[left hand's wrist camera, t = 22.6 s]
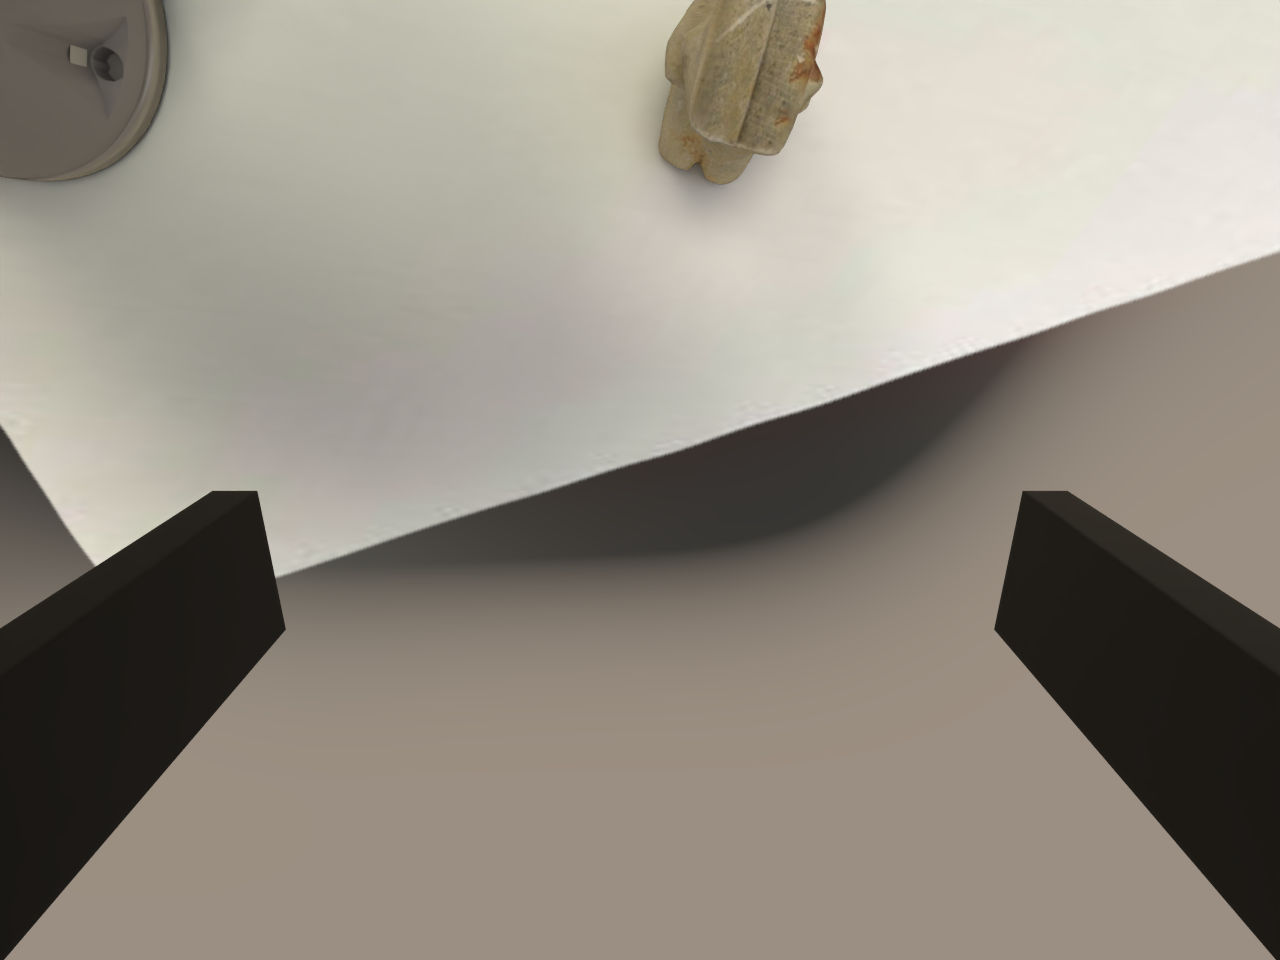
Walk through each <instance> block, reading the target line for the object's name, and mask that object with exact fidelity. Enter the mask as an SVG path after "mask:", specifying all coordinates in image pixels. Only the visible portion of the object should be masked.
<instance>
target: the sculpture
mask: <svg viewBox="0 0 1280 960" xmlns="http://www.w3.org/2000/svg"><path fill="white" fill-rule="evenodd" d="M825 11H826V1H825V0H695V1H693V3H692V4H691V5H690V7H689V8H688V10H687V11H686V13H685V15H684V16H683V18H682V19H681V21H680V22H679V24H678V25H677V27H676V28H675V30H674V32H673V34H672V35H671V37H670V39H669V41H668V44H667V48H666V58H665V75H666V78H667V79H668V80H669V81H670V82H671V83H672V85H671V89H670V92H669V96H668V100H667V104H666V108H665V112H664V117H663V122H662V128H661V134H660V140H659V151H660V154H661V156H662V157H663V158H664V159H665V160H666V161H667V162H669V163H670V164H672V165H674V166H675V167H677V168H679V169H685V170H688V169H690V168H691V167H692V166H693V165H694V164H695V163H698V164H699V165H701V167H702V170H703V173H704V176H705V178H706V179H707V180H709V181H711V182H714V183H717V184H727V183H730V182H732V181H734V180H735V179H737V178H738V177H739V176H740V174H741V173H742V172H743V171H744V169H745V168H746V166H747V164H748V163H749V161H750V159H751V157H752V155H753V154H760V155H766V156H769V155H775V154H778V153H779V152H780V151H781V149H782V148H783V147H784V145H785V143H786V141H787V139H788V137H789V135H790V132H791V130H792V128H793V126H794V123H795V120H796V117H797V115H798V114H799V113H801V112H802V111H804V110H805V109H806V108H807V107H808V105H809V102H810V99H811V97H812V96H813V95H814V94H815V93H816V92H817V91H818V90H819V89H820V88H821V86H822V83H823V77H822V75H821V72H820V70H819V67H818V65H817V63H816V61H815V58H816V55H817V52H818V47H819V43H820V39H821V35H822V30H823V24H824V18H825Z"/></svg>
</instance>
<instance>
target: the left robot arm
mask: <svg viewBox="0 0 1280 960" xmlns="http://www.w3.org/2000/svg"><path fill="white" fill-rule="evenodd" d="M166 66H167V34H166V26H165V18H164V13H163V8H162V3H161V0H0V176H1V177H6V178H14V179H25V180H43V181H58V180H68V179H74V178H79V177H83V176H87V175H90V174H92V173H95V172H98V171H100V170H102V169H104V168H106V167H108V166H110V165H111V164H113V163H114V162H116V161H117V160H119V159H120V158H122V157H123V156H124V155H125V154H126V153H127V152H128V151H129V150H130V149H132V147H133V146H134V145H135V144H136V143H137V142H138V141H139V139H140V138H141V137H142V135H143V134H144V132H145V131H146V129H147V128H148V126H149V124H150V122H151V120H152V118H153V116H154V114H155V112H156V109H157V107H158V104H159V101H160V98H161V94H162V90H163V86H164V81H165V74H166ZM285 630H286V628H285V623H284V619H283V614H282V609H281V604H280V599H279V594H278V590H277V585H276V580H275V575H274V570H273V565H272V560H271V555H270V551H269V546H268V541H267V536H266V531H265V526H264V521H263V517H262V512H261V507H260V502H259V497H258V492H257V491H212V492H210V493H209V494H207V495H206V496H204V497H203V498H201V499H199V500H198V501H196V502H195V503H193V504H192V505H190V506H189V507H187V508H186V509H184V510H182V511H181V512H179V513H178V514H176V515H175V516H173V517H172V518H170V519H169V520H167V521H165V522H164V523H162V524H161V525H159V526H158V527H156V528H155V529H153V530H152V531H150V532H148V533H147V534H145V535H144V536H142V537H141V538H139V539H138V540H136V541H135V542H133V543H131V544H130V545H128V546H127V547H125V548H124V549H122V550H121V551H119V552H118V553H116V554H115V555H113V556H111V557H110V558H108V559H107V560H105V561H104V562H102V563H101V564H99V565H98V566H96V567H95V568H93V569H91V570H90V571H88V572H87V573H85V574H84V575H82V576H81V577H79V578H77V579H76V580H74V581H73V582H71V583H70V584H68V585H67V586H65V587H64V588H62V589H60V590H59V591H57V592H56V593H54V594H53V595H51V596H50V597H48V598H47V599H45V600H44V601H42V602H40V603H39V604H37V605H36V606H34V607H33V608H31V609H30V610H28V611H27V612H25V613H23V614H22V615H20V616H19V617H17V618H16V619H14V620H13V621H11V622H10V623H8V624H7V625H5V626H3V627H2V628H0V960H4V959H5V958H6V957H7V956H8V954H9V953H10V952H11V951H12V950H13V949H14V947H15V946H16V945H17V944H18V943H19V941H20V940H21V939H22V938H23V937H24V936H25V934H26V933H27V932H28V931H29V930H30V929H31V927H32V926H33V925H34V924H35V923H36V922H37V920H38V919H39V918H40V917H41V916H42V915H43V913H44V912H45V911H46V910H47V909H48V908H49V906H50V905H51V904H52V903H53V902H54V901H55V899H56V898H57V897H58V896H59V895H60V893H61V892H62V891H63V890H64V889H65V888H66V886H67V885H68V884H69V883H70V882H71V881H72V879H73V878H74V877H75V876H76V875H77V873H78V872H79V871H80V870H81V869H82V868H83V867H84V865H85V864H86V863H87V862H88V861H89V859H90V858H91V857H92V856H93V855H94V854H95V852H96V851H97V850H98V849H99V848H100V847H101V845H102V844H103V843H104V842H105V841H106V840H107V838H108V837H109V836H110V835H111V834H112V832H113V831H114V830H115V829H116V828H117V827H118V825H119V824H120V823H121V822H122V821H123V820H124V818H125V817H126V816H127V815H128V814H129V813H130V811H131V810H132V809H133V808H134V807H135V805H136V804H137V803H138V802H139V801H140V800H141V799H142V797H143V796H144V795H145V794H146V793H147V791H148V790H149V789H150V788H151V787H152V786H153V784H154V783H155V782H156V781H157V780H158V779H159V777H160V776H161V775H162V774H163V773H164V771H165V770H166V769H167V768H168V767H169V766H170V765H171V763H172V762H173V761H174V760H175V759H176V757H177V756H178V755H179V754H180V753H181V752H182V750H183V749H184V748H185V747H186V746H187V745H188V743H189V742H190V741H191V740H192V739H193V738H194V736H195V735H196V734H197V733H198V732H199V731H200V729H201V728H202V727H203V726H204V725H205V723H206V722H207V721H208V720H209V719H210V718H211V716H212V715H213V714H214V713H215V712H216V711H217V709H218V708H219V707H220V706H221V705H222V703H223V702H224V701H225V700H226V699H227V698H228V697H229V695H230V694H231V693H232V692H233V691H234V689H235V688H236V687H237V686H238V685H239V684H240V682H241V681H242V680H243V679H244V678H245V677H246V675H247V674H248V673H249V672H250V671H251V670H252V668H253V667H254V666H255V665H256V664H257V663H258V661H259V660H260V659H261V658H262V657H263V655H264V654H265V653H266V652H267V651H268V650H269V648H270V647H271V646H272V645H273V644H274V643H275V641H276V640H277V639H278V638H279V637H280V636H281V634H282V633H283V632H284V631H285ZM994 630H995V631H996V632H997V633H998V634H999V636H1000V637H1001V638H1002V639H1003V640H1004V641H1005V643H1006V644H1007V645H1008V646H1009V647H1010V648H1011V650H1012V651H1013V652H1014V653H1015V654H1016V655H1017V657H1018V658H1019V659H1020V660H1021V661H1022V662H1023V664H1024V665H1025V666H1026V667H1027V668H1028V670H1029V671H1030V672H1031V673H1032V674H1033V675H1034V677H1035V678H1036V679H1037V680H1038V681H1039V682H1040V684H1041V685H1042V686H1043V687H1044V688H1045V689H1046V691H1047V692H1048V693H1049V694H1050V695H1051V696H1052V698H1053V699H1054V700H1055V701H1056V702H1057V704H1058V705H1059V706H1060V707H1061V708H1062V709H1063V711H1064V712H1065V713H1066V714H1067V715H1068V716H1069V718H1070V719H1071V720H1072V721H1073V722H1074V723H1075V725H1076V726H1077V727H1078V728H1079V729H1080V731H1081V732H1082V733H1083V734H1084V735H1085V736H1086V738H1087V739H1088V740H1089V741H1090V742H1091V743H1092V745H1093V746H1094V747H1095V748H1096V749H1097V750H1098V752H1099V753H1100V754H1101V755H1102V756H1103V757H1104V759H1105V760H1106V761H1107V762H1108V763H1109V765H1110V766H1111V767H1112V768H1113V769H1114V770H1115V772H1116V773H1117V774H1118V775H1119V776H1120V777H1121V779H1122V780H1123V781H1124V782H1125V783H1126V784H1127V786H1128V787H1129V788H1130V789H1131V790H1132V791H1133V793H1134V794H1135V795H1136V796H1137V797H1138V799H1139V800H1140V801H1141V802H1142V803H1143V804H1144V806H1145V807H1146V808H1147V809H1148V810H1149V811H1150V813H1151V814H1152V815H1153V816H1154V817H1155V818H1156V820H1157V821H1158V822H1159V823H1160V824H1161V825H1162V827H1163V828H1164V829H1165V830H1166V831H1167V833H1168V834H1169V835H1170V836H1171V837H1172V838H1173V840H1174V841H1175V842H1176V843H1177V844H1178V845H1179V847H1180V848H1181V849H1182V850H1183V851H1184V852H1185V854H1186V855H1187V856H1188V857H1189V858H1190V859H1191V861H1192V862H1193V863H1194V864H1195V865H1196V866H1197V868H1198V869H1199V870H1200V871H1201V872H1202V874H1203V875H1204V876H1205V877H1206V878H1207V879H1208V881H1209V882H1210V883H1211V884H1212V885H1213V886H1214V888H1215V889H1216V890H1217V891H1218V892H1219V893H1220V895H1221V896H1222V897H1223V898H1224V899H1225V900H1226V902H1227V903H1228V904H1229V905H1230V906H1231V908H1232V909H1233V910H1234V911H1235V912H1236V913H1237V915H1238V916H1239V917H1240V918H1241V919H1242V920H1243V922H1244V923H1245V924H1246V925H1247V926H1248V927H1249V929H1250V930H1251V931H1252V932H1253V933H1254V934H1255V936H1256V937H1257V938H1258V939H1259V940H1260V942H1261V943H1262V944H1263V945H1264V946H1265V947H1266V949H1267V950H1268V951H1269V952H1270V953H1271V954H1272V956H1273V957H1274V958H1275V959H1276V960H1280V628H1278V627H1277V626H1275V625H1274V624H1272V623H1270V622H1269V621H1267V620H1266V619H1264V618H1263V617H1261V616H1260V615H1258V614H1257V613H1255V612H1253V611H1252V610H1250V609H1249V608H1247V607H1246V606H1244V605H1243V604H1241V603H1240V602H1238V601H1237V600H1235V599H1233V598H1232V597H1230V596H1229V595H1227V594H1226V593H1224V592H1223V591H1221V590H1220V589H1218V588H1216V587H1215V586H1213V585H1212V584H1210V583H1209V582H1207V581H1206V580H1204V579H1203V578H1201V577H1199V576H1198V575H1196V574H1195V573H1193V572H1192V571H1190V570H1189V569H1187V568H1186V567H1184V566H1182V565H1181V564H1179V563H1178V562H1176V561H1175V560H1173V559H1172V558H1170V557H1169V556H1167V555H1165V554H1164V553H1162V552H1161V551H1159V550H1158V549H1156V548H1155V547H1153V546H1152V545H1150V544H1148V543H1147V542H1145V541H1144V540H1142V539H1141V538H1139V537H1138V536H1136V535H1135V534H1133V533H1132V532H1130V531H1128V530H1127V529H1125V528H1124V527H1122V526H1121V525H1119V524H1118V523H1116V522H1115V521H1113V520H1111V519H1110V518H1108V517H1107V516H1105V515H1104V514H1102V513H1101V512H1099V511H1098V510H1096V509H1094V508H1093V507H1091V506H1090V505H1088V504H1087V503H1085V502H1084V501H1082V500H1081V499H1079V498H1077V497H1076V496H1074V495H1073V494H1071V493H1070V492H1068V491H1023V492H1022V497H1021V502H1020V507H1019V512H1018V517H1017V521H1016V526H1015V531H1014V536H1013V541H1012V546H1011V551H1010V555H1009V560H1008V565H1007V570H1006V575H1005V580H1004V585H1003V589H1002V594H1001V599H1000V604H999V609H998V614H997V619H996V624H995V628H994Z"/></svg>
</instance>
